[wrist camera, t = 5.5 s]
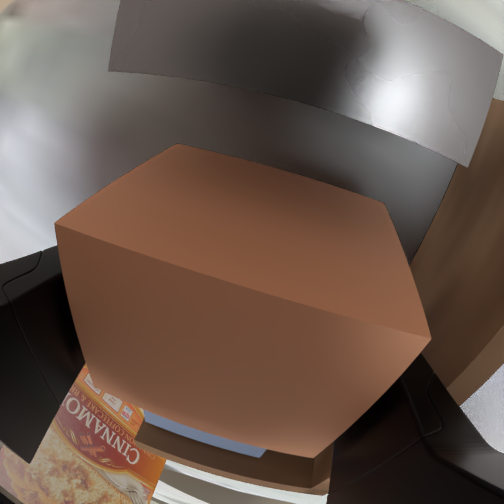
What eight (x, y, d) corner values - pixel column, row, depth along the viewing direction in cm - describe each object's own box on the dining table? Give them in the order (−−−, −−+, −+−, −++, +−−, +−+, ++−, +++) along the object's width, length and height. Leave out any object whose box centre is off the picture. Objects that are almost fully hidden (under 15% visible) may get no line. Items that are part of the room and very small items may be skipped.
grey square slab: (397, 118, 9) (467, 168, 4) (207, 67, 9) (108, 71, 5) (415, 59, 8) (503, 54, 3) (221, 8, 8) (130, -37, 3)
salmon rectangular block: (324, 327, 11) (312, 458, 7) (164, 278, 11) (94, 387, 7) (384, 203, 8) (431, 338, 4) (177, 143, 8) (55, 222, 4)
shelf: (331, 410, 18) (322, 495, 13) (173, 366, 18) (136, 446, 14) (505, 111, 7) (620, 164, 2) (222, 9, 8) (121, -41, 3)
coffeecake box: (183, 427, 24) (112, 612, 8) (128, 421, 26) (59, 574, 10) (64, 296, 18) (-86, 529, 1) (24, 309, 20) (-96, 483, 4)
